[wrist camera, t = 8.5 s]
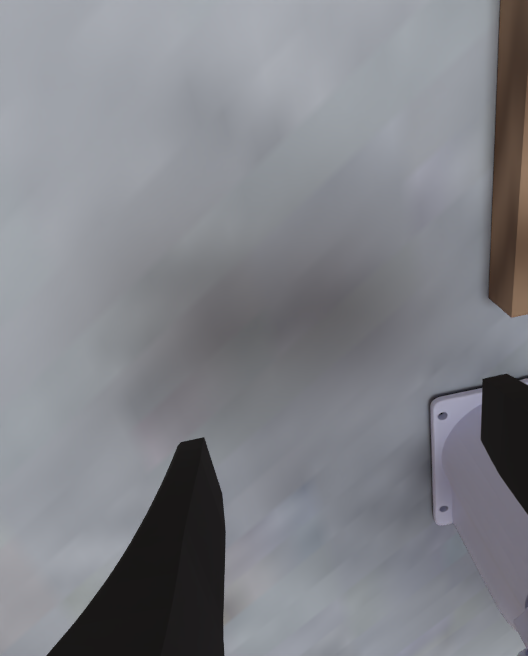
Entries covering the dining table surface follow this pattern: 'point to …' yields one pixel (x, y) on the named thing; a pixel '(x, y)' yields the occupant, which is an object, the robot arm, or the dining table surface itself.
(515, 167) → the brown wooden frame
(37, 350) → the dining table surface
